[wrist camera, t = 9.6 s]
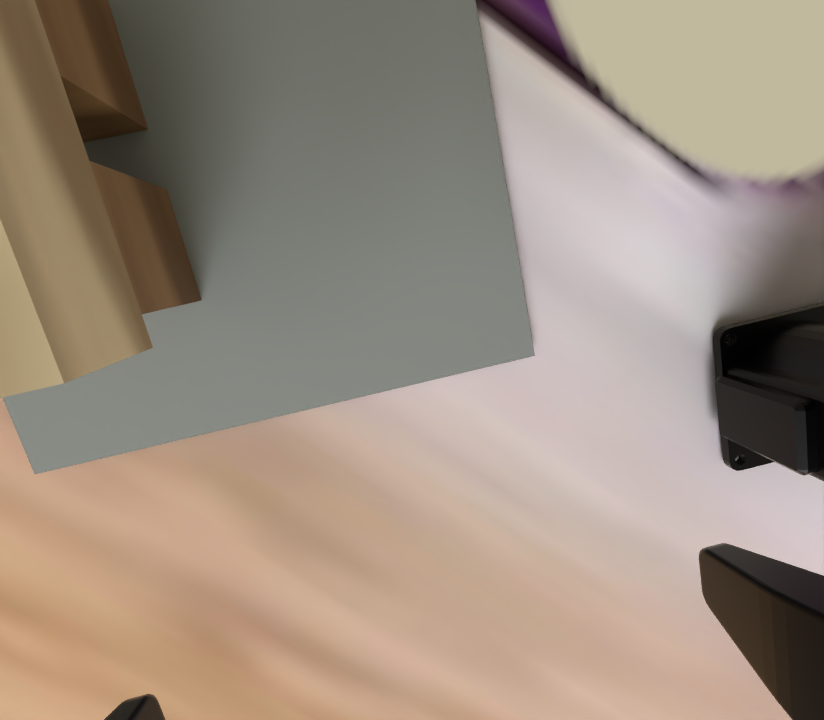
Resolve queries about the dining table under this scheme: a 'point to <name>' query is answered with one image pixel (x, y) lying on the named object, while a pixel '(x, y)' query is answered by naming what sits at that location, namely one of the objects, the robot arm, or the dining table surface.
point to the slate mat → (302, 218)
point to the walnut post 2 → (147, 240)
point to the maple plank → (53, 228)
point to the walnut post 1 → (92, 67)
